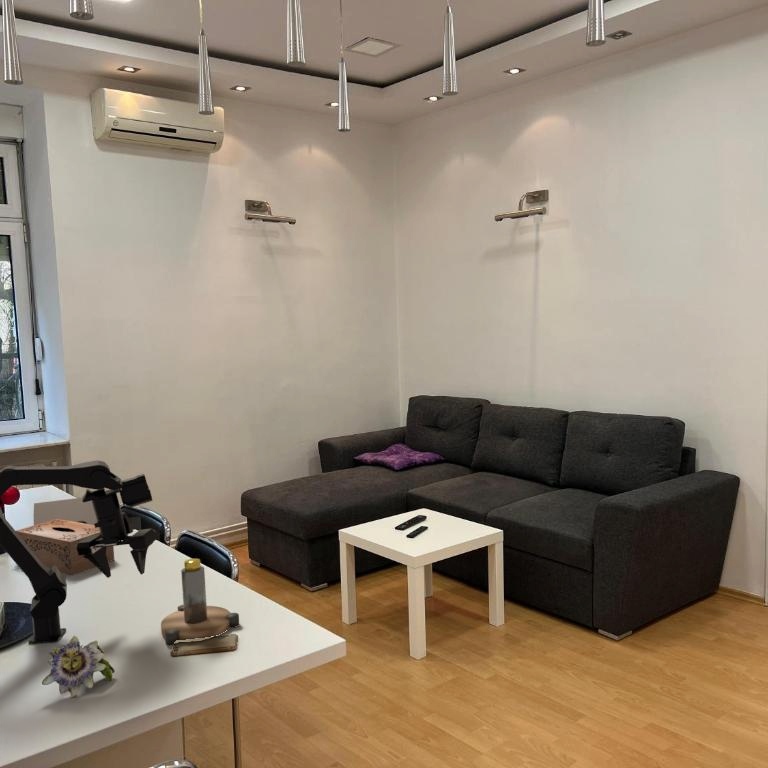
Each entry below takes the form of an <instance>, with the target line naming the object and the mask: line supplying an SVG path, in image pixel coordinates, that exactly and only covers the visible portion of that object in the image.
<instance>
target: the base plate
mask: <svg viewBox="0 0 768 768" xmlns="http://www.w3.org/2000/svg"><path fill="white" fill-rule="evenodd" d="M238 625H239V626H240V614H239V613H238V612H231V611H229V610H228V609H227V608H225V607H222V606H215V605H207V620H206V621H204V622H201V623H197V624H188V623H186V622H185V621H184V606H183V604H180V605H179V606H177V610H176V611H174V612H172V613H170V614H168V615H167V616H165V617H164V618H163V619H162V620H161V623H160V631H161V636H162V637H163V638H164V639H165V644H166V645H168V646H173V644H174V642H175V641H176V640H186V639H195V638H205V637H211V636H216V635H219V634H221V633H223V632H225V631H226V630H228V629H229V628H230V627H234V628H236V627H235V626H237V627H239V626H238ZM230 629H231V628H230ZM230 629H229V630H230ZM229 630H228V631H229ZM226 632H227V631H226ZM226 632H225V633H226ZM223 634H224V633H223Z"/></svg>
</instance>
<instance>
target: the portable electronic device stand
mask: <svg viewBox="0 0 768 768" xmlns="http://www.w3.org/2000/svg"><path fill="white" fill-rule="evenodd" d="M54 519H62V520H68V521H73V522H79V523H85V524H90V525H94V523H96V522H97V519H96V515H95V512H94V508H93V505H92V501H88V502H82V497H75V498H68V499H60V500H51V501H50V500H49V501H41V502H36V503H35V502H34V503H33V526H34V525H37V524H40V523H44V522H47V521H51V520H54Z"/></svg>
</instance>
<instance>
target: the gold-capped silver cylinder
mask: <svg viewBox="0 0 768 768" xmlns="http://www.w3.org/2000/svg"><path fill="white" fill-rule="evenodd" d="M183 562H184V565H183V566H184V568H182V569H181V571H180V573H181V586H182V587H181V589H182V605H183V606H184V621H185V622H186V623H188V624H197V623H201V622H204V621H206V620H207V606H208V605H207V592H206V591H207V590H206V588H207V587H206V577H205V573H206V572H205V567H204V566H201V565H202V564H201V559H200V558H189V559H186V560H184V561H183Z"/></svg>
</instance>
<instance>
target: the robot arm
mask: <svg viewBox="0 0 768 768" xmlns="http://www.w3.org/2000/svg"><path fill="white" fill-rule="evenodd" d="M33 485H34V486H37V485H38V486H41V485H43V486H44V485H48V486H49V485H69V486H70V485H71V486H74V487H79V488H82V489H86V490H85V493H84V495H83V496H82V497H81V498H82V502H88V501H92V505H93V508H94V512H95V515H96V519H97V522H96V523H94V525H95V528H96V527H99V529H100V533H101V534H100V535H91V536H88V537H86V538H85V539H83V540H82V541H80V542H79V543H78V544H77V547H76V549H77V553H78V555H84V556H83V557H84V558H87V559H88V560H89V561H91V562H92V563H93V564H94V565H95V566H96V567H95V568H97V569H98V570H99V571H100V572H101V573H102V574H103V575H104V576H105V577H106V578H110V577H112V572H111V567H110V562H108V560H107V556H106V550H107V547H108V546H113V547H116V546H126V545H129V548H131V550H130V554H131V557H132V559H133V561H134V563H135V566H136V569H137V570H138V572H139V574H140V575H144V574H145V569H146V561H147V554H148V549H149V547H150V546H152V545H153V543H154V542H155V541H156V540H158V535H157V531H156V530H155V529H153V528H145V529H142V527H141V526H142V525H141V516H135V517H134V516H133V517H129V516H128V514H127V512H123V511H122V509H121V505H120V501H119V498H118V497H119V496H118V493H119V495H120V499H121V502H122V506H126V507H128V509H131V508H133V507H137V506H140V505H143V504H147V503H150V502H153V496H152V493H151V488H150V487H149V484H148V483H147V478H146V475H145V473H141V474H138V475H135V476H133V477H129V478H127V479H123V480H122V479H121V478H120V477H119V476H117V475H116V474H115V473H113V472H112V471H111V468H110V467H109V464H107V462H105V461H103V460H92V461H86V462H81V463H78V464H74V465H67V466H65V465H61V466H59V465H58V466H56V465H55V466H42V465H41V466H40V465H39V466H36V465H35V466H16V465H15V466H14V465H7V466H4V467H3V468H2V469H1V471H0V498H1V497H2V496H3V495H4V494H5V493H6V492H7V491H8V490H9V489H10V488H11V487H12V486H33ZM105 489H107V490H105ZM134 530H136V531H137V532H135V533H134V534H132V533H133V532H134ZM16 531H17V530H15V529H14V527H13V526H12V525H11V523H10V522H9V521H8V520H7V519H6V517H5V515H4V512H3V510H2V508H1V507H0V547H1V548H2V549H3V550H4V551H5V552H6V554H7V555H8V556H9V557H10V558H11V559H12V561H13V562H14V563H15V565H17V566H18V567H19V569H20V570H21V571H22V572H23V573H24V575H25V576H26V577H27V578H28V580H29V582H30V584H31V587H32V589H33V592H34V594H35V595H34V596H33V597H32V598H31V602H30V603H31V604H30V611H29V613H30V615H31V619H32V621H31V622H32V630H33V631H32V632H33V635H32V636H31V637H30V639H29V640H28V641H27V642H28V644H40V643H41V644H42V643H56V642H58V641H59V640H60V638H62V637H63V635H64V634H65V633H66V631H67V628H66V627H64V628H61V620H60V619H61V618H60V609H59V607H60V606H62V605H63V604H64V603H65V602H66V599H67V595H68V593H67V591H68V590H67V589H68V586H67V585H68V584H67V576H66V575H64V573H62V572H60V571H59V569H58V567H57V566H56V565H54V566H53V567H52V568H49V567H47V566H45V565H44V564H43V563H42V562H41V561H40V560H39V558H38V557H37V556H36V555H35V554H34V552H33V551H32V550H31V549H30V548H29V546H28V545H27V544H26V543H25V542H24V540H23V539H22V538H21V537H20V536H19V534H18V533H17V532H16ZM129 534H132V535H129Z"/></svg>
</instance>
